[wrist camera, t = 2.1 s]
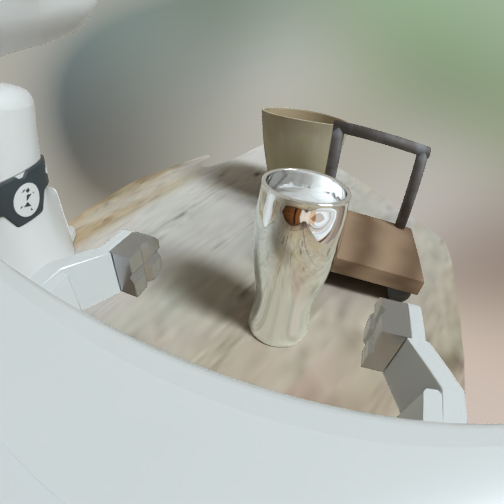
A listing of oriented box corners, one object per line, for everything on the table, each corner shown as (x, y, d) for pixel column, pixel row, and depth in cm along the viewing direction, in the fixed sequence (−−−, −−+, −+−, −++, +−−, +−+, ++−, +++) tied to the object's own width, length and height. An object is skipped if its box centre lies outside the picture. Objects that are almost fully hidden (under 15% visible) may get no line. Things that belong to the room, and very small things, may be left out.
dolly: (286, 276, 35) (313, 132, 25) (306, 225, 45) (326, 117, 35) (409, 309, 32) (468, 180, 21) (401, 251, 42) (436, 148, 32)
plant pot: (346, 217, 49) (367, 129, 40) (265, 218, 46) (277, 118, 37) (313, 182, 61) (326, 111, 52) (246, 182, 58) (253, 104, 48)
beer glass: (310, 356, 26) (361, 214, 17) (237, 344, 26) (250, 195, 18) (312, 305, 31) (348, 176, 23) (250, 294, 32) (265, 161, 23)
